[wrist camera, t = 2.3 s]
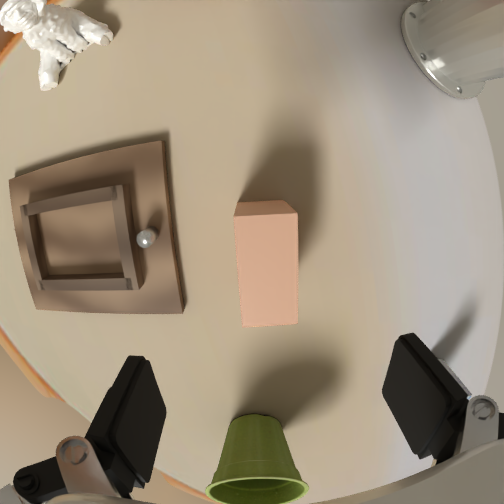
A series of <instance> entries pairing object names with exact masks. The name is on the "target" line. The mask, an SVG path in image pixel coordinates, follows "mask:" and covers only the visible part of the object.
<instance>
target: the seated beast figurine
mask: <svg viewBox="0 0 504 504" xmlns="http://www.w3.org/2000/svg"><path fill="white" fill-rule="evenodd" d="M46 3H47V0H8V1H7V2H6V3H5V4H4V5H3V7H2V9H1V10H0V23H1V25H3V26H4V31H10V32H13V33H14V34H16V33H19V32H23V39H25V40H26V42H27V44H29V46H30V48H31V49H32V50H33V49H37V50H39V51H40V56H41V61H40V67H39V71H38V75H39V80H40V89H41V90H43V91H47V90H51V89H52V88H53V87H55V88H56V86H57V85H58V78H59V73H60V71H61V70H62V69H63V68H64V67H65V66H66V65H67V64H68V63H70V60H71V59H72V60H73V59H74V57H75V56H74V55H75V54H76V53H77V52H79V53H82V50H86V49H87V48H88V47H89V46H90V45H91V44H92V43H97V44H99V45H103V46H106V45H109V44H110V41H112V40H113V33H112V31H111V30H110V29H108V25H107V24H104V23H101V22H98V21H96V19H92V18H90V16H87V15H85V14H84V12H81V11H79V10H76V9H73V8H67V7H61V6H60V5H54V4H50V5H46ZM85 39H86V40H85ZM88 42H90V43H89V44H88ZM69 48H70V49H69ZM72 50H73V51H75V52H74V53H73V52H72ZM60 62H62V63H61V64H60Z"/></svg>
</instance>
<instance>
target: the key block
mask: <svg viewBox="0 0 504 504" xmlns="http://www.w3.org/2000/svg"><path fill="white" fill-rule="evenodd" d="M234 230H235V244H236V257H237V270H238V282H239V294H240V306H241V318H242V328H243V327H261V326H276V325H289V324H298V213H297V212H296V211H295V210H294V209H293V208H292V207H291V206H290V205H288V204H287V203H286V202H285V201H284V200H272V201H253V202H237V206H236V209H235V213H234Z"/></svg>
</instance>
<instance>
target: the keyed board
mask: <svg viewBox="0 0 504 504" xmlns="http://www.w3.org/2000/svg"><path fill="white" fill-rule="evenodd" d="M9 188H10V198H11V206H12V213H13V220H14V226H15V231H16V236H17V241H18V246H19V251H20V255H21V259H22V263H23V267H24V271H25V275H26V278H27V282H28V285H29V288H30V292H31V295H32V298H33V301H34V304H35V307H36V309H38V310H52V311H68V312H88V313H119V314H183V311H184V309H185V308H184V303H183V297H182V291H181V285H180V279H179V272H178V265H177V259H176V252H175V244H174V236H173V228H172V220H171V211H170V201H169V191H168V180H167V168H166V153H165V141H162V140H161V141H154V142H148V143H143V144H137V145H132V146H127V147H122V148H117V149H112V150H108V151H103V152H99V153H95V154H91V155H87V156H83V157H79V158H75V159H71V160H68V161H64V162H61V163H57V164H54V165H51V166H47V167H44V168H41V169H38V170H35V171H32V172H29V173H26V174H23V175H21V176H18V177H15V178H13V179H10V180H9Z"/></svg>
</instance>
